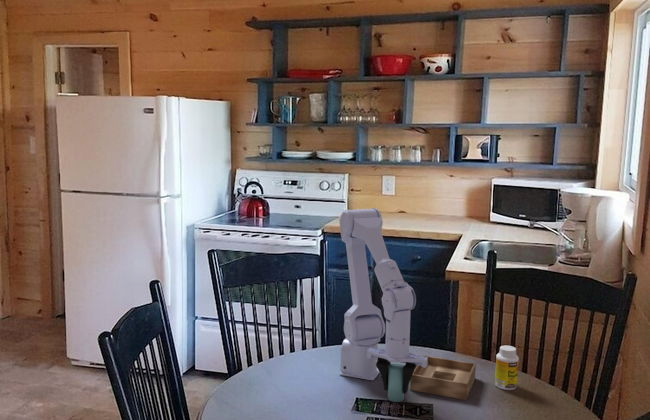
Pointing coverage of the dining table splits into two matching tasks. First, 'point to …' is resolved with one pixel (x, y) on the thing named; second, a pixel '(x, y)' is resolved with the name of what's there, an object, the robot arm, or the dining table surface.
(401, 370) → the peg
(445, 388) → the box
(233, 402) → the dining table surface
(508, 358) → the supplement bottle
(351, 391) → the dining table surface
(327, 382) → the dining table surface
